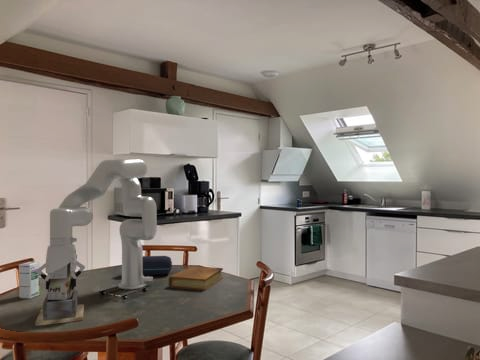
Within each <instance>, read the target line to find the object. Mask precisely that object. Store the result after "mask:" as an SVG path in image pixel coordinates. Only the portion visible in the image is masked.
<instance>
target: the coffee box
mask: <svg viewBox="0 0 480 360" xmlns="http://www.w3.org/2000/svg"><path fill="white" fill-rule="evenodd" d="M77 259H78V255H77V254H76V261H78V260H77ZM70 265H71V262H70V263H69V264H67V265H66V266H64V267H62V268H60V269H58V270H56V271H54V272H52V273H51V277H50V285H49V292H48V291H47V294H48V300H66V299H69V298H71V297H72V292H73V290H72V275H71V272H70Z"/></svg>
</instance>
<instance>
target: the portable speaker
mask: <svg viewBox="0 0 480 360" xmlns="http://www.w3.org/2000/svg"><path fill="white" fill-rule="evenodd" d="M172 267H173V261H172V258H171V257H170V256H168V255H143V276H166V275H168V274H169V275H170V272H171V270H172Z"/></svg>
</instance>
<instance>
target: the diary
mask: <svg viewBox="0 0 480 360" xmlns="http://www.w3.org/2000/svg"><path fill="white" fill-rule="evenodd" d="M223 270H224V268H223V267H213V266H212V267H209V266H198V265H197V266H193V265H191V266H188V267H186V268H184V269H182V270H180V271H178V272H177V273H175V274H172V275H170V276H169V277H168V287H169V288H173V289H182V290H184V289H185V290H195V291H196V290H197V291H207V290H209V289H210V288H212V287H213V286H215V284H217V283H218V282H220V281H221V280H223V278H224V277H223V276H222V271H223Z"/></svg>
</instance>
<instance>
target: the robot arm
mask: <svg viewBox="0 0 480 360" xmlns="http://www.w3.org/2000/svg"><path fill="white" fill-rule="evenodd" d="M147 171H148V167H147V163H146V162H145V161H144V160H142V159H139V158H138V159H119V158H118V159H117V158H116V159H104V160H102V161H101V162H99V164H98V165H97V167H96V168H95V170H94V171H93V173H92V174H91V175H90V177H89V178H88V179H87V181H86V183H84V184H83V185H81V186H79V187H78V188H76V189H75V190H74V191H72V192H71V193H69V194H68V195H67V196H66V197H65V198H64V199H63V201H62V202H61V203H60V204H59V206H58V207H57V208H53V209H51V210H50V212H49V245H48V246H47V250H46V254H45V255H46V256H45V257H46V258H45V263H43V264H42V265H40V268H38V269H37V270H36V272H37V273H38V274H39V275H40V278H41V279H42V280H44V282H45V290H47V293H48V292H49V285H50V278H51V273H52V272H54V271H56V270H58V269H60V268H62V267H64V266H66V265H67V264H69V263H70V262H71V265H70V272H71V275H72V290H75V288H76V287H77V278H78V277H79V276H80V275H81V274H82V273H83V271H84V270H85V269H86V266H85V265H84V264H82V263H81V262H80V261H78V260H76V255H77V252H76V251H77V249H76V245H75V244H73V243H75V242H77V237H73V227H86V226H88V225H89V224H91V223H92V221H93V220H94V214H93V211H92V210H91V209H90V208H88V207H86V206H83V205H84V204H86V203H89V202H91V201H94V200H97V199H99V198H101V197H103V196H104V195H105V194H106V192H107V191H108V189H109V188H110V186H111V184H112V183H113V181H114V180H118V181H119V182H120V185H121V188H122V213H124V216H128V217H141V219H140V218H137V219H136V218H129V219H125V220H123V221H122V222H121V223H120V225H119V228H118V229H119V237H120V240H121V282H119V284H118V288H119V289H122V290H137V289H142V288H144V287H146V286H147V282H153V281H154V277H153V276H150V275H147V276H146V275H143V256H144V255H143V253H144V252H143V251H144V249H143V244H142V243H141V241H150V240H153V239H154V238H155V237H156V235H157V227H158V226H157V225H158V221H157V218H158V217H157V210H158V209H157V203H156V201H155V199H154V198H153V197H152V196H143V195H142V186H141V182H140V180H139V179H141V178H143V177H145V175H146V174H147ZM77 267H78V268H79V269H78V271H76V270H77ZM43 270H45V273H44V272H43Z"/></svg>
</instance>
